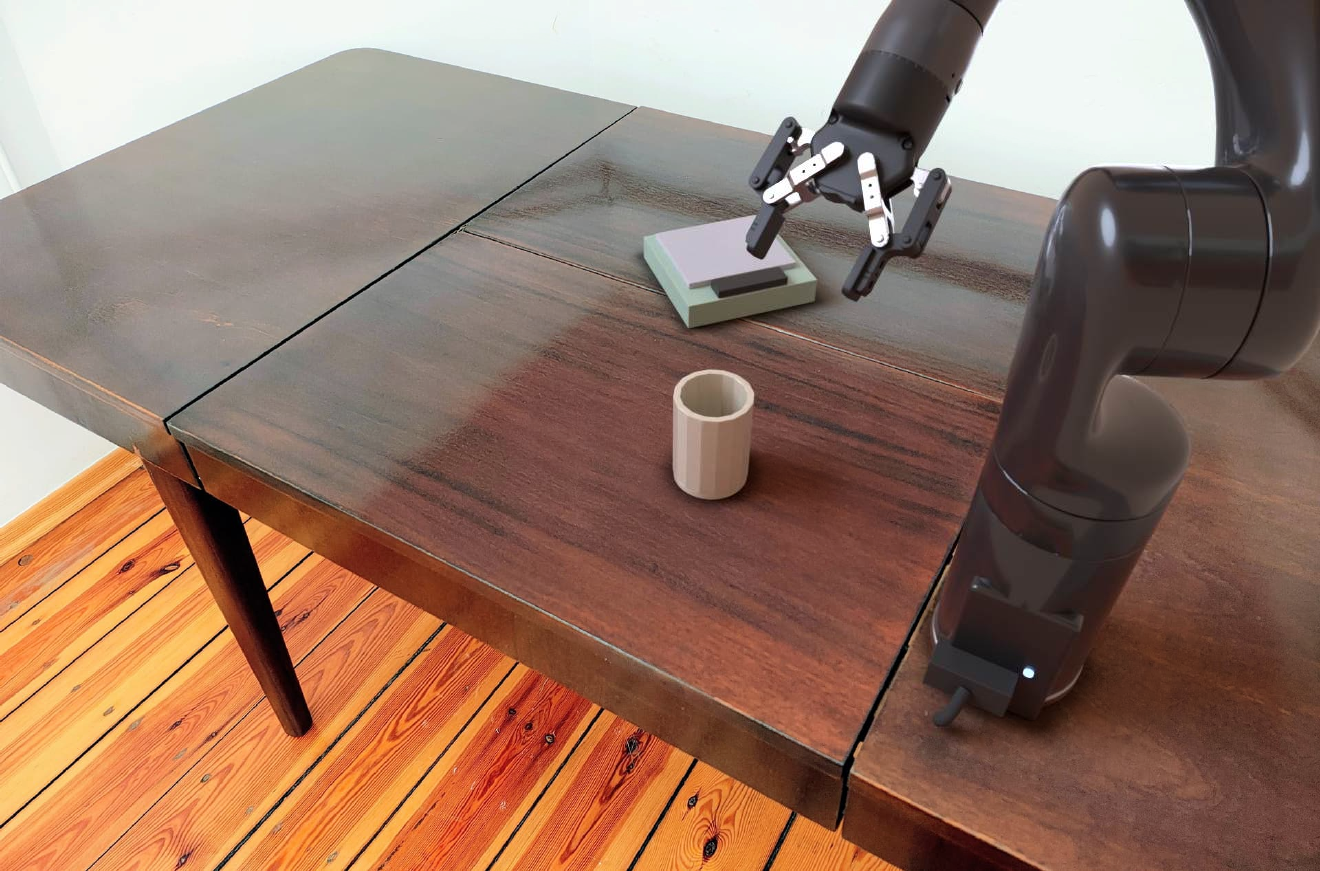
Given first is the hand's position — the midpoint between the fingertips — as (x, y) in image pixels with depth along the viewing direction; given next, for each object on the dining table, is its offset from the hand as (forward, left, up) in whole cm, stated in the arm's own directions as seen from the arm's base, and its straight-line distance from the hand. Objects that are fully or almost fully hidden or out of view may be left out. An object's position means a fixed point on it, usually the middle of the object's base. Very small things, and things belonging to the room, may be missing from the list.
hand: (800, 276), depth 69 cm
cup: (-10, +2, -13) cm, 16 cm away
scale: (+15, +13, -13) cm, 24 cm away
